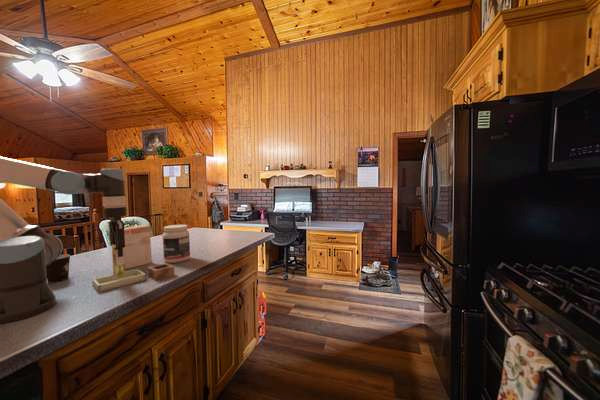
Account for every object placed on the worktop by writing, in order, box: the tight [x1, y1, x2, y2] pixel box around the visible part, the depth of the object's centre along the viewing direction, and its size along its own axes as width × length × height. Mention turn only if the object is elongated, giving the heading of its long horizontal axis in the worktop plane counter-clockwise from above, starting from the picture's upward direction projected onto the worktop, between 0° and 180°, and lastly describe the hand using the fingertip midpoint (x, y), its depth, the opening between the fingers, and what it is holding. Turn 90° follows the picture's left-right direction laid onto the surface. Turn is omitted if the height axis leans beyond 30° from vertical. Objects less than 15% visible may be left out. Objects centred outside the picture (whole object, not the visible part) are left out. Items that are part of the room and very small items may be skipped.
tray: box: [91, 268, 147, 293], centre depth 104 cm, size 16×11×2 cm
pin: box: [111, 244, 126, 277], centre depth 103 cm, size 4×4×13 cm
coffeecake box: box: [124, 224, 153, 270], centre depth 126 cm, size 15×7×20 cm, turn 144°
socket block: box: [147, 262, 175, 281], centre depth 111 cm, size 8×8×4 cm
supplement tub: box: [162, 224, 191, 264], centre depth 134 cm, size 13×13×18 cm
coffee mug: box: [46, 254, 71, 284], centre depth 110 cm, size 12×9×10 cm
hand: (118, 263), depth 103 cm, fingers closed on pin, 4 cm apart
